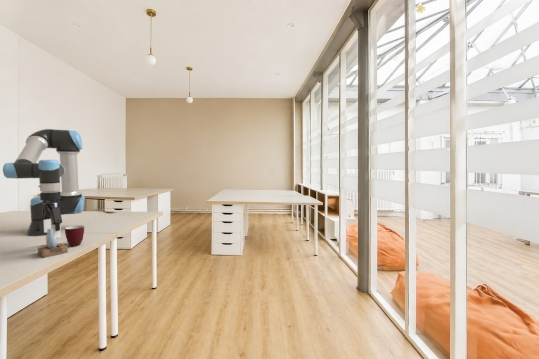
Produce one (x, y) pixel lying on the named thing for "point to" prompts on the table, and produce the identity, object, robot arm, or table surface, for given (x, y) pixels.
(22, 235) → the table surface
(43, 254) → the socket block
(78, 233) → the mug
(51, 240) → the long peg
